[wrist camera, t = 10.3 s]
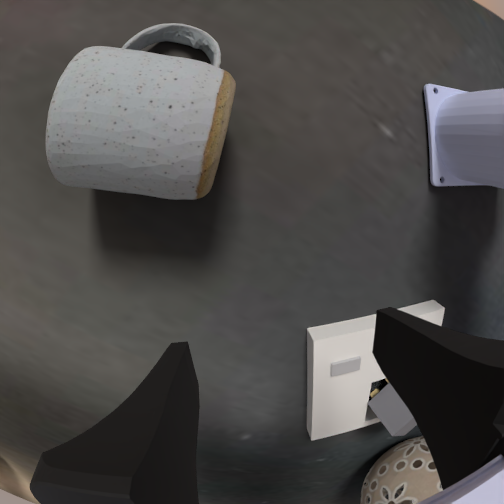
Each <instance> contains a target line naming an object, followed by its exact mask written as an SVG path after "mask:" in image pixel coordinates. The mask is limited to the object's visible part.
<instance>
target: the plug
mask: <svg viewBox="0 0 504 504" xmlns="http://www.w3.org/2000/svg"><path fill="white" fill-rule="evenodd" d="M385 380H386V381H387V382H388V384H387V385H386V386H385V387H384V388H383V389H382V390H381V391H380V390H379V389H375V390H374V391H373V392H372V393H370V396H371V397H372V399H371V400H370V401H369V402H368V403H367V404H368V405H369V406H370V407H371V409H372V410H373V411H374V413H375V414H376V415H377V417H378V418H379V419H380V421H381V422H382V423H383V425H384V426H385V427H386V429H387V430H388V431H389V433H390V434H391V435H392V436H403V435H406V434H407V433H408V432H409V431H410V430H411V429H413V428H414V427H415V426H416V425H417V423H416V421H415V419H414V417H413V416H412V414H411V412H410V411H409V409H408V408H407V406H406V405H405V403H404V402H403V401H402V399H401V398H400V396H399V395H398V394H397V392H396V391H395V389H394V388H393V387H392V385H391V384H390V382H389V381H388V380H387V378H386V379H385Z"/></svg>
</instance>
